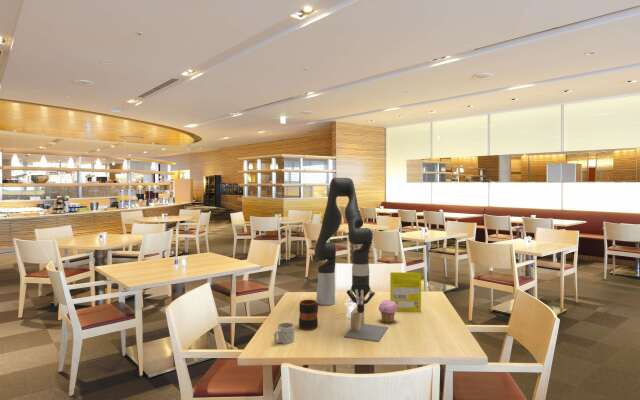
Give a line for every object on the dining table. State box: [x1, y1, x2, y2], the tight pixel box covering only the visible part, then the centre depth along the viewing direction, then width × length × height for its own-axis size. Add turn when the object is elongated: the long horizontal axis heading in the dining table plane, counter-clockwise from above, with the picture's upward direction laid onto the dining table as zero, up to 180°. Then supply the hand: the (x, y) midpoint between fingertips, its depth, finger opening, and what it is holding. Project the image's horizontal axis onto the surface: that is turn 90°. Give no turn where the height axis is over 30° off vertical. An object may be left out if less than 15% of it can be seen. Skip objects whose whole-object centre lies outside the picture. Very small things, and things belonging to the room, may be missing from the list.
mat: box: [343, 323, 389, 343], centre depth 190 cm, size 15×18×1 cm
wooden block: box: [350, 306, 365, 331], centre depth 195 cm, size 3×8×10 cm
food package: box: [389, 271, 422, 313], centre depth 219 cm, size 15×1×20 cm, turn 84°
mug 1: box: [273, 322, 295, 345], centre depth 179 cm, size 10×7×7 cm, turn 141°
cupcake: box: [378, 299, 398, 323], centre depth 204 cm, size 9×9×10 cm
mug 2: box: [298, 299, 319, 331], centre depth 198 cm, size 9×12×12 cm
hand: (360, 312), depth 190 cm, fingers closed
